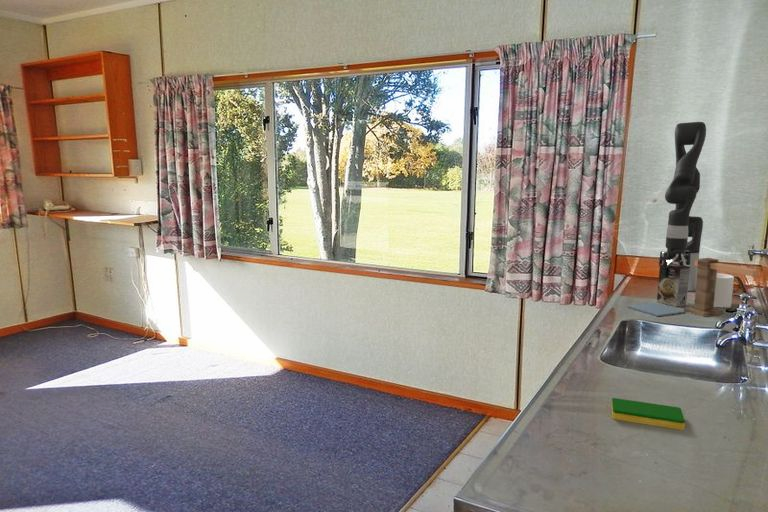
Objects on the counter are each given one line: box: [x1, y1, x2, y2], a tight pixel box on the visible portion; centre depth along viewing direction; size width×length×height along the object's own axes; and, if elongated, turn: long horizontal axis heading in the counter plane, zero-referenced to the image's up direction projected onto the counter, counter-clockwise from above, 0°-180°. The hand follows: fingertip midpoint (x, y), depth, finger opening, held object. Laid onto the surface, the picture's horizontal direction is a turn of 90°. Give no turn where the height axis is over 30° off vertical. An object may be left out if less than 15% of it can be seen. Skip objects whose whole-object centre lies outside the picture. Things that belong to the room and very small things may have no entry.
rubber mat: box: [627, 302, 686, 318], centre depth 201 cm, size 14×14×1 cm
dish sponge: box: [611, 397, 686, 431], centre depth 114 cm, size 7×14×2 cm, turn 68°
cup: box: [713, 272, 735, 309], centre depth 208 cm, size 12×12×12 cm
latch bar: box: [694, 260, 760, 277], centre depth 188 cm, size 3×22×2 cm, turn 21°
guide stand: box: [683, 257, 723, 317], centre depth 196 cm, size 10×8×21 cm
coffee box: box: [656, 263, 690, 308], centre depth 209 cm, size 9×6×16 cm
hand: (673, 276), depth 208 cm, fingers open, 8 cm apart
